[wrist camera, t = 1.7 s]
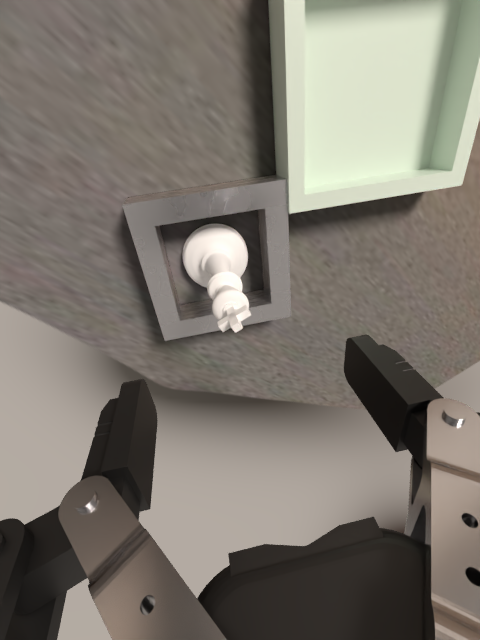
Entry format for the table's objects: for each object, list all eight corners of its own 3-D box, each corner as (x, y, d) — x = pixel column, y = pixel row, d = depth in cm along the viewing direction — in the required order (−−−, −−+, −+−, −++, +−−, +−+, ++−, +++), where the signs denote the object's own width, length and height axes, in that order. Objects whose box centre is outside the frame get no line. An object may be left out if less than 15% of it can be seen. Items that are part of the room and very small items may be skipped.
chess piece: (258, 264, 24) (302, 335, 15) (206, 297, 24) (221, 382, 16) (225, 209, 21) (256, 259, 13) (168, 247, 22) (162, 318, 14)
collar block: (128, 197, 20) (121, 204, 18) (276, 174, 20) (287, 179, 18) (165, 323, 25) (164, 340, 23) (282, 301, 26) (291, 316, 24)
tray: (266, -44, 15) (282, -77, 13) (484, -64, 16) (536, -98, 14) (277, 205, 22) (289, 213, 19) (432, 179, 23) (461, 185, 20)
